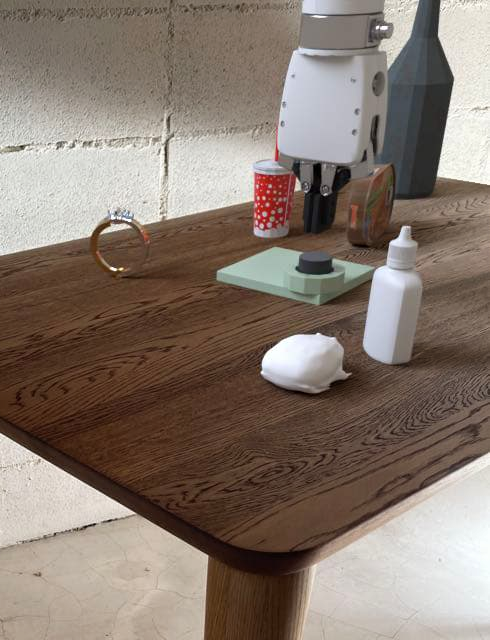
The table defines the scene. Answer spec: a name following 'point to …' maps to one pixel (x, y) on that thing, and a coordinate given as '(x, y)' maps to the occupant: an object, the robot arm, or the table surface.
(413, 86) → the bottle
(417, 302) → the eye dropper bottle
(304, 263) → the button
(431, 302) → the table surface
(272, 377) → the garlic
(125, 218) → the ring
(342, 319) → the table surface
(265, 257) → the scale
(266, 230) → the beverage cup
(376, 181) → the tin
